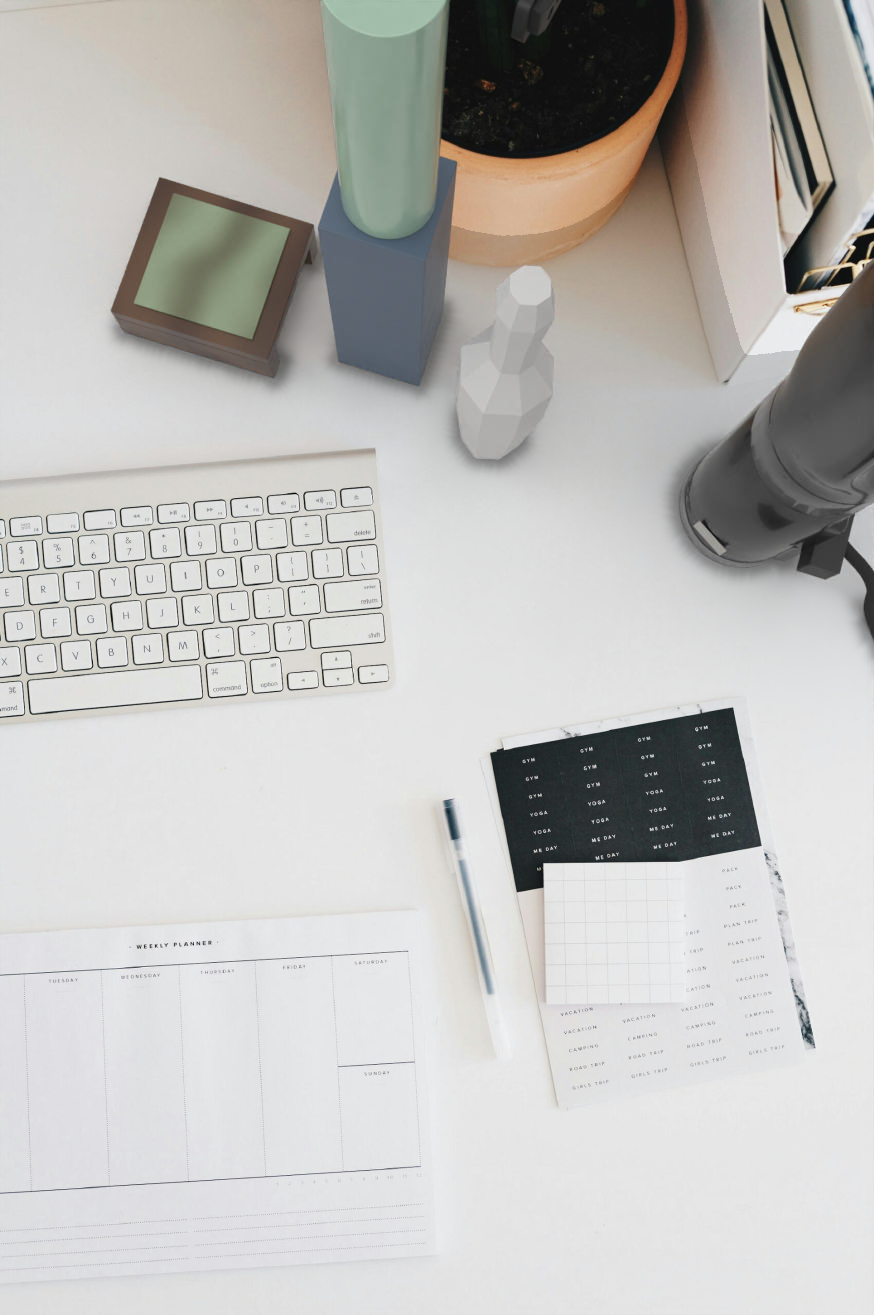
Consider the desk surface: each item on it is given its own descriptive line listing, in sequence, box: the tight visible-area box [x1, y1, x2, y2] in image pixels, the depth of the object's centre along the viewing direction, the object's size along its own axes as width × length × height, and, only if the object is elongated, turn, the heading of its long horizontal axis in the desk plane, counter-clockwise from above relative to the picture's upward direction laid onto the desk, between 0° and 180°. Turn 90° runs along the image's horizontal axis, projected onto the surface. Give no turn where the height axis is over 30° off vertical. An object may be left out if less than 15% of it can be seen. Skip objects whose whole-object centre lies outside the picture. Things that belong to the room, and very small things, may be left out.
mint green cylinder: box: [318, 0, 451, 239], centre depth 46 cm, size 6×6×15 cm
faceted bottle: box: [455, 265, 556, 461], centre depth 60 cm, size 6×6×22 cm
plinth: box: [317, 155, 458, 387], centre depth 62 cm, size 6×6×18 cm
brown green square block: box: [110, 176, 319, 379], centre depth 69 cm, size 12×11×4 cm
